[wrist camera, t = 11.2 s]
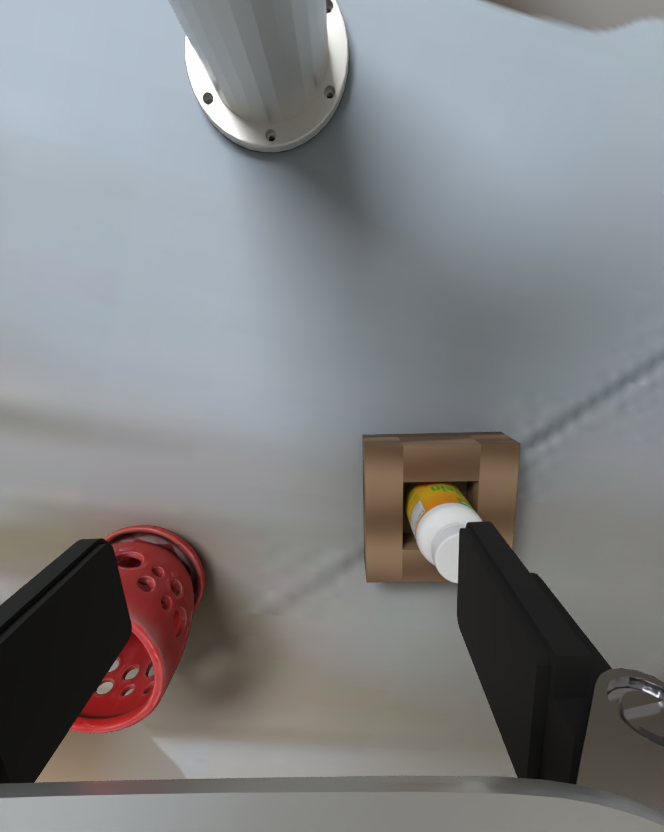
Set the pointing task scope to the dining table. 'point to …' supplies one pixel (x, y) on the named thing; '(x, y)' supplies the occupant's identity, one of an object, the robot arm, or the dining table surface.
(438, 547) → the supplement bottle
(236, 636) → the dining table surface
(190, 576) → the plant pot
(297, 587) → the dining table surface
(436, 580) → the socket block
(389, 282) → the dining table surface
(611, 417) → the dining table surface
